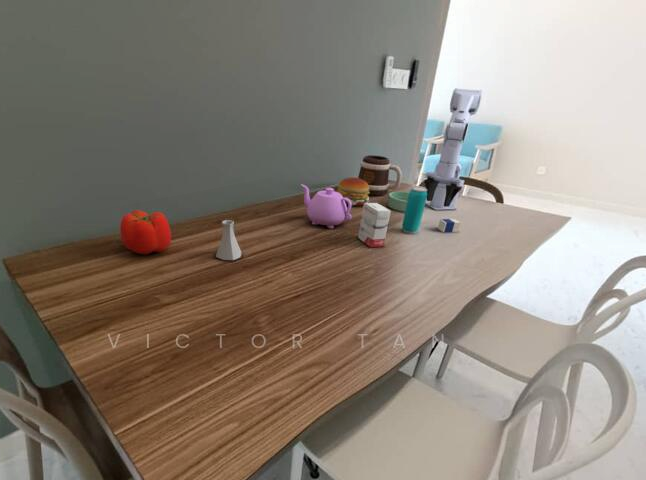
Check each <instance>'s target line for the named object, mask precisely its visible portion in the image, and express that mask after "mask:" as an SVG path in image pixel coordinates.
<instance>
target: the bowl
mask: <svg viewBox="0 0 646 480" xmlns="http://www.w3.org/2000/svg"><path fill="white" fill-rule="evenodd" d="M409 192H410V191H393V192H390V193H389V194H388V197H387V198H388V199H387V206H388V207H389V208H390V209H392V210H394V211H397V212H402V213H405V210H406V206H407V201H408V196H409Z"/></svg>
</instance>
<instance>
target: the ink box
mask: <svg viewBox="0 0 646 480" xmlns="http://www.w3.org/2000/svg"><path fill="white" fill-rule="evenodd" d="M362 206H363V207H362V212H361V218H360V224H359V225H360V226H359V229H358V239H359V240H360V241H362V242H363V243H364V244H365V245H367V246H368V247H370V248H380V247H381V248H382V247H384V246H385V241H386V236H387V231H388V226H389V222H390V218H391V217H390V216H391V212H392V210H390V209H389V208H387V207H385V206H383V205H381V204H380V203H379V202H367V203H364V204H363V205H362Z"/></svg>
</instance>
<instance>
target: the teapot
mask: <svg viewBox="0 0 646 480" xmlns="http://www.w3.org/2000/svg"><path fill="white" fill-rule="evenodd" d="M300 186H301V187H302V188H303V192H304V194H303V195H304V198H303V205H304V206H305V208H306V215H307V217H308V219H309V220H310V221H311V224H312V225H322V226H326V227H327V228H328V229H333V228H335V227H334V226H337V225H341V224H342V223H343V222H345V221H351V220H352V218H353V216H352V214H351V213H350V211H351V209H352V207H353V205H352V203H351V200H350V199H348V198H343V197H342V195H341V194H340V193H338V191H335V189H334V188H332V187H325V190H319V191H317V192H316V193H315V195H314V196H313V197H312V199H311V197H310V190H309V187H308V186H307V185H305V184H303V183H301V184H300ZM344 200H345V201H347V202H348V206H347V205H346V203H345V201H344Z"/></svg>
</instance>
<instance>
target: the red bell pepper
mask: <svg viewBox="0 0 646 480" xmlns="http://www.w3.org/2000/svg"><path fill="white" fill-rule="evenodd" d="M119 230H120V236H121V240H122V242H123V245H124V247H125V248H126V249H128V250H129V251H131V252H134V253H135V254H139V255H144V256H145V255H149V254H151V253H152V252H155V253H162V252H164V251H165V250H167V249H168V248H169V247H170V246H171V243H172V232H171V228H170V225H169V221H168V219H167V217H166V216H165V215H164V214H163V213H162V212H158V211H154V212H153V213H150V214H148V213H147V212H145V211H143V210H132V211H131V212H130V213H127V214H124V215H123V216H122V218H121V220H120V227H119Z"/></svg>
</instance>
